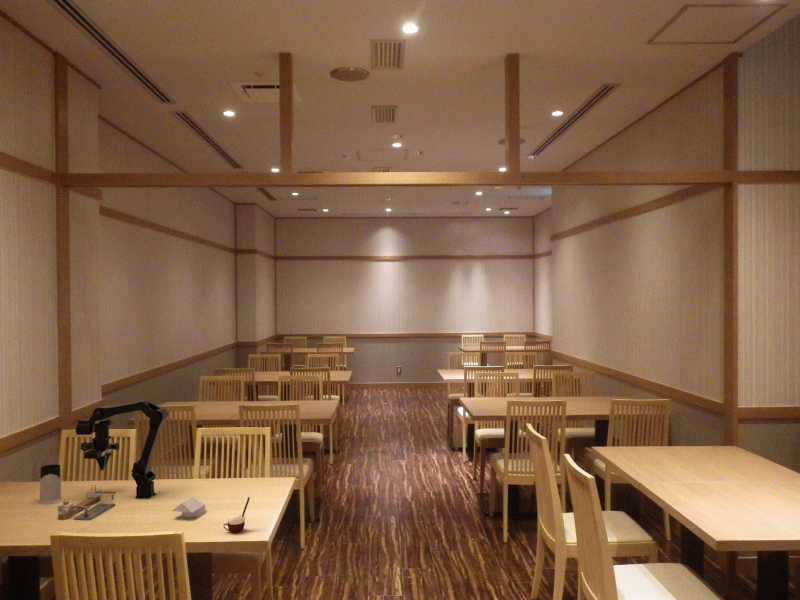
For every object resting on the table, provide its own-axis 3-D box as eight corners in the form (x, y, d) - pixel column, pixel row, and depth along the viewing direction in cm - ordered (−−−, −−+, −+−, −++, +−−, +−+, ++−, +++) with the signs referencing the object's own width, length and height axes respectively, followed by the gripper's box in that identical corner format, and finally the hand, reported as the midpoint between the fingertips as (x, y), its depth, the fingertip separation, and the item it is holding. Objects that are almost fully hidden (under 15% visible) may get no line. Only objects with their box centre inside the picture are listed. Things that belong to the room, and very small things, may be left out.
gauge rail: (118, 500, 266) (117, 484, 266) (85, 520, 242) (85, 502, 242) (91, 500, 267) (91, 484, 267) (57, 519, 243) (57, 502, 243)
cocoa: (222, 535, 226) (220, 503, 225) (228, 528, 232) (226, 497, 232) (247, 534, 225) (246, 502, 225) (252, 527, 232) (250, 496, 231)
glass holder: (37, 505, 260) (37, 470, 260) (41, 496, 273) (41, 462, 273) (61, 502, 264) (61, 467, 264) (63, 493, 277) (63, 460, 277)
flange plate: (115, 505, 260) (115, 503, 260) (90, 520, 242) (90, 517, 242) (99, 505, 260) (99, 502, 260) (74, 519, 242) (74, 517, 242)
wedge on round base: (192, 521, 240) (209, 510, 253) (192, 503, 240) (209, 493, 253) (171, 519, 242) (189, 508, 255) (171, 502, 242) (189, 492, 255)
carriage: (118, 497, 266) (118, 484, 266) (112, 501, 261) (112, 487, 262) (92, 497, 267) (92, 484, 267) (86, 500, 262) (86, 487, 262)
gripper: (96, 430, 281) (96, 464, 281) (71, 439, 262) (71, 475, 262) (119, 430, 280) (119, 464, 280) (96, 439, 262) (96, 476, 261)
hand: (102, 470), depth 271 cm, fingers closed
